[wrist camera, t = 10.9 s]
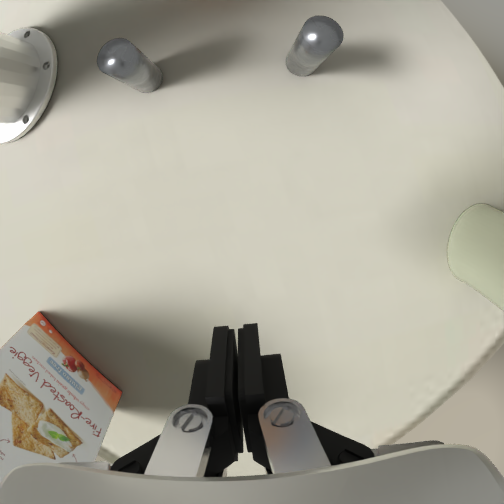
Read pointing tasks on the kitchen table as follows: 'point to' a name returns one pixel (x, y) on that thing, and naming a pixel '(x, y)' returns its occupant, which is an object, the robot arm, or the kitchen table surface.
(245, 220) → the kitchen table surface
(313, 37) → the outer post
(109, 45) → the inner post
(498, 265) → the can
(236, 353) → the robot arm
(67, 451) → the cracker box
